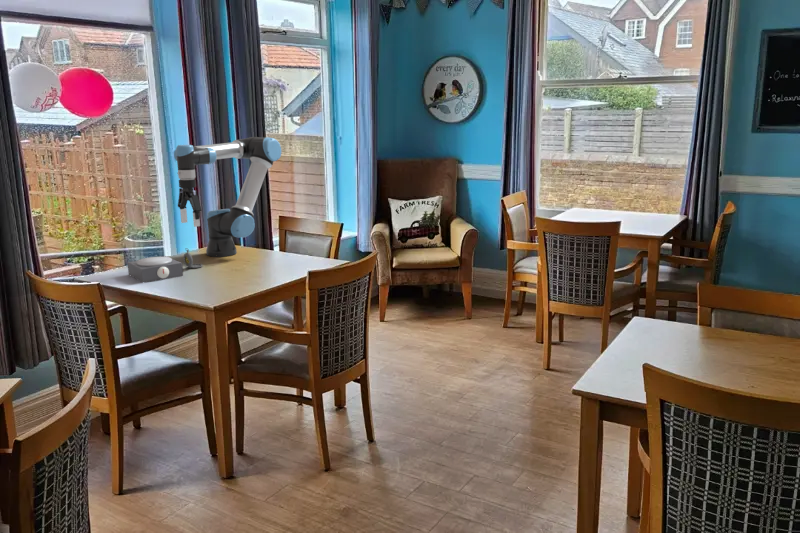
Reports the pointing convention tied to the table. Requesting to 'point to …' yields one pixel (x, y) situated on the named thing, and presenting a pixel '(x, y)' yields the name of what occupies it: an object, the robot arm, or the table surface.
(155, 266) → the dial scale
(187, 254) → the pocket watch
